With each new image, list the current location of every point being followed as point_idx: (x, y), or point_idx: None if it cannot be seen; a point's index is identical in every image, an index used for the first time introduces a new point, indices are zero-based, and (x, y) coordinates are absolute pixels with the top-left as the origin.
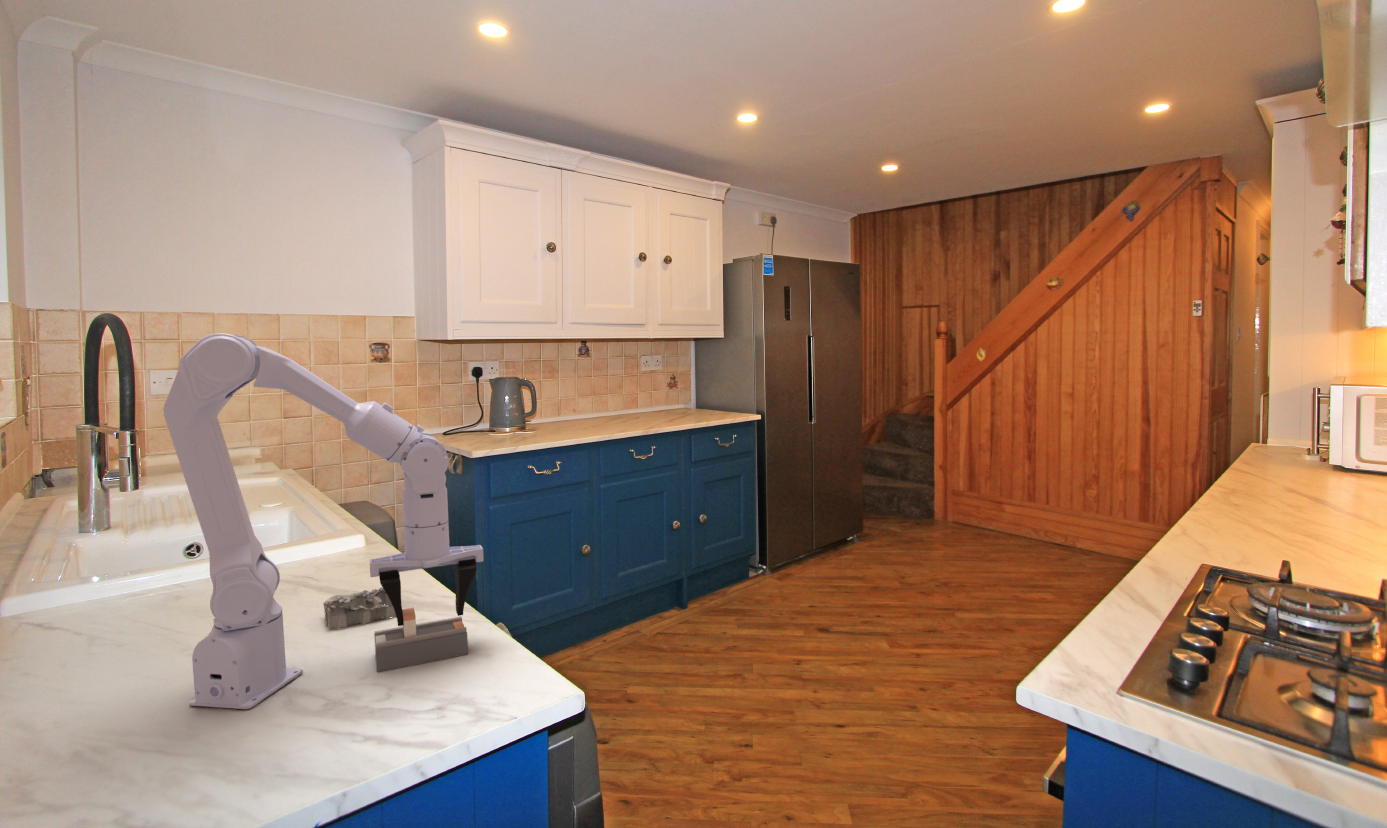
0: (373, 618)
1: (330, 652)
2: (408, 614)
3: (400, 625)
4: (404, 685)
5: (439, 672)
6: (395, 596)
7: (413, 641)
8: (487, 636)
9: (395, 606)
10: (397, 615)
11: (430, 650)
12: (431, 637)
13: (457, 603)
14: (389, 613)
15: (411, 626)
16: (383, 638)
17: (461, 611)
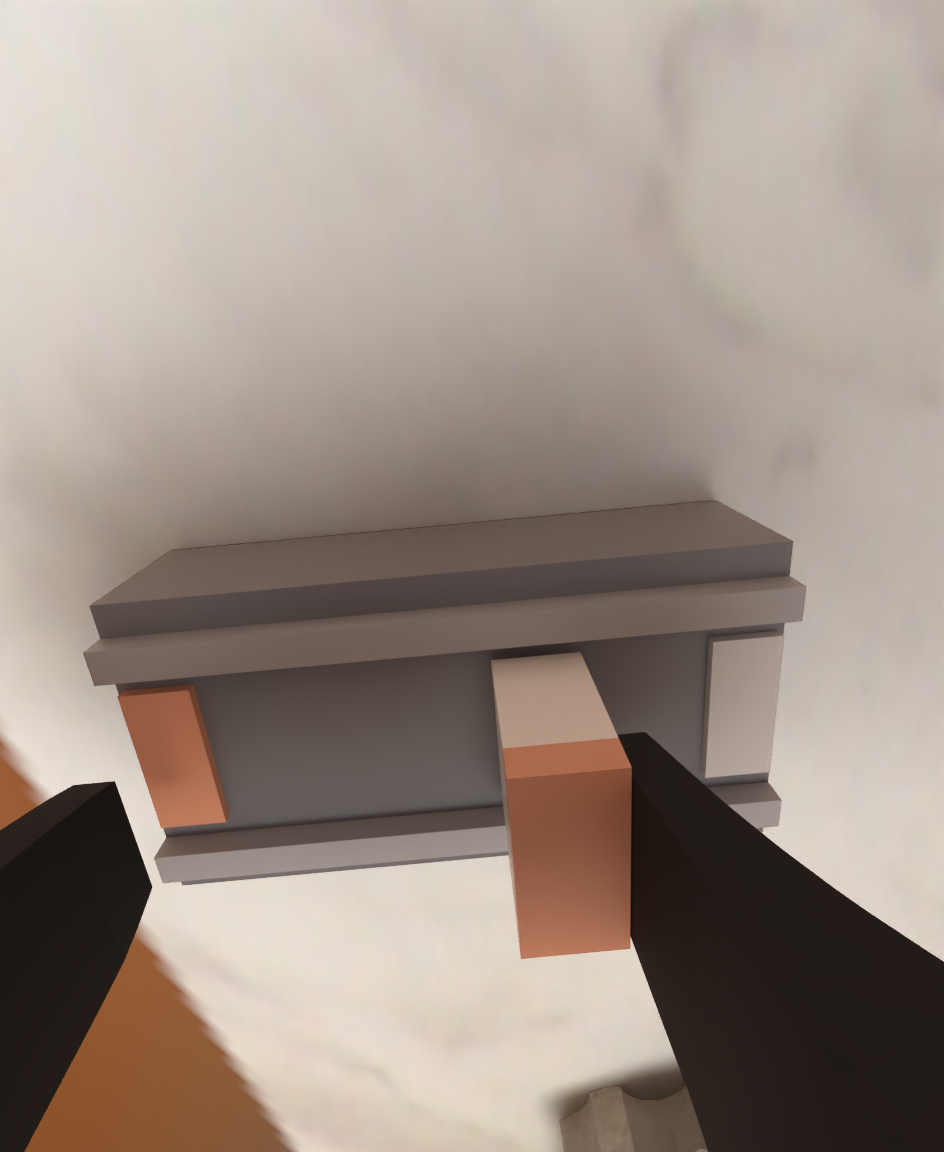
0: (678, 1100)
1: (904, 831)
2: (576, 813)
3: (633, 733)
4: (567, 218)
5: (340, 337)
6: (891, 1003)
7: (512, 599)
8: (78, 755)
9: (780, 864)
10: (700, 786)
11: (393, 549)
12: (375, 613)
13: (53, 903)
14: (611, 1117)
15: (536, 704)
16: (722, 714)
17: (54, 804)
